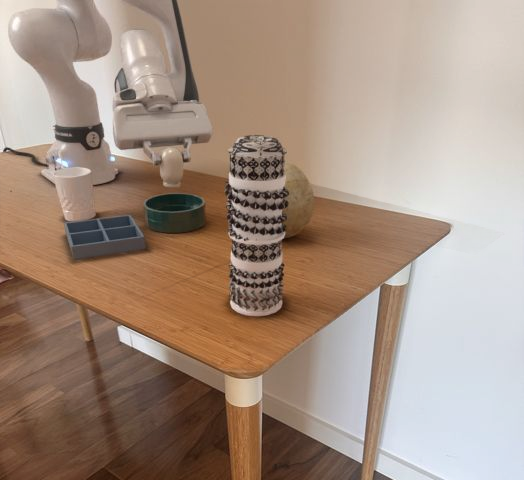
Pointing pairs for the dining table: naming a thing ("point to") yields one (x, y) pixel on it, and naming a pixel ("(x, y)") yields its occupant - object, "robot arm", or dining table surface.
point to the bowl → (174, 212)
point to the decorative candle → (256, 224)
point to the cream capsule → (171, 167)
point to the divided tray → (104, 236)
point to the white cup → (75, 193)
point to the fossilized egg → (297, 200)
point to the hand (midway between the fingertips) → (172, 162)
